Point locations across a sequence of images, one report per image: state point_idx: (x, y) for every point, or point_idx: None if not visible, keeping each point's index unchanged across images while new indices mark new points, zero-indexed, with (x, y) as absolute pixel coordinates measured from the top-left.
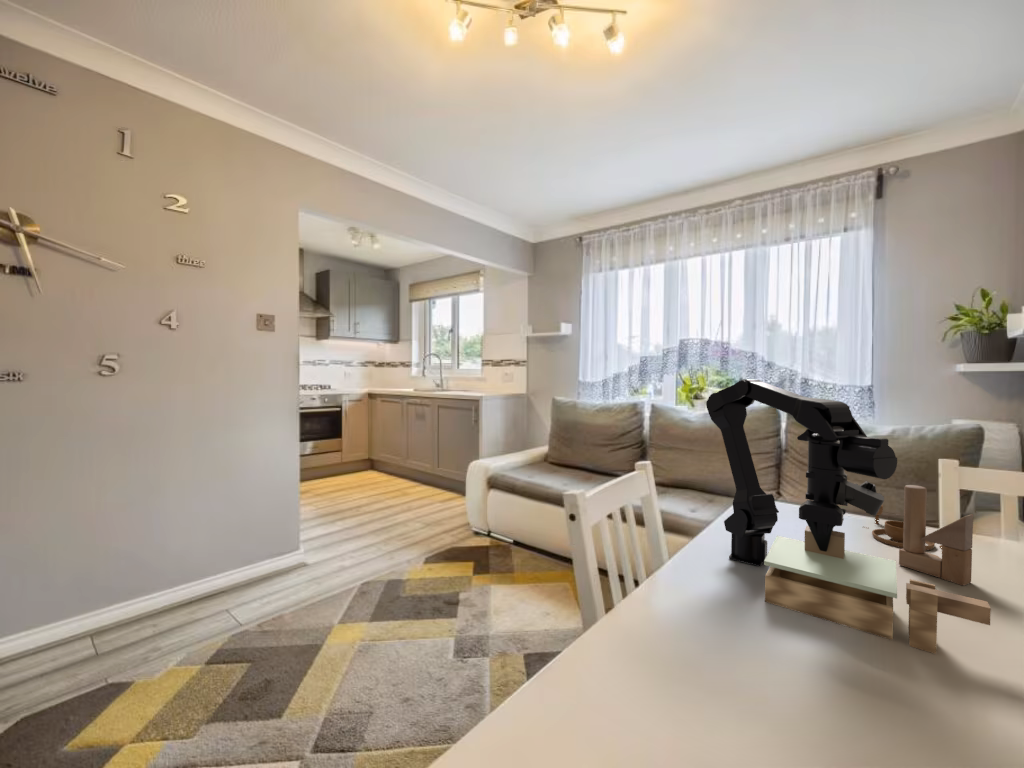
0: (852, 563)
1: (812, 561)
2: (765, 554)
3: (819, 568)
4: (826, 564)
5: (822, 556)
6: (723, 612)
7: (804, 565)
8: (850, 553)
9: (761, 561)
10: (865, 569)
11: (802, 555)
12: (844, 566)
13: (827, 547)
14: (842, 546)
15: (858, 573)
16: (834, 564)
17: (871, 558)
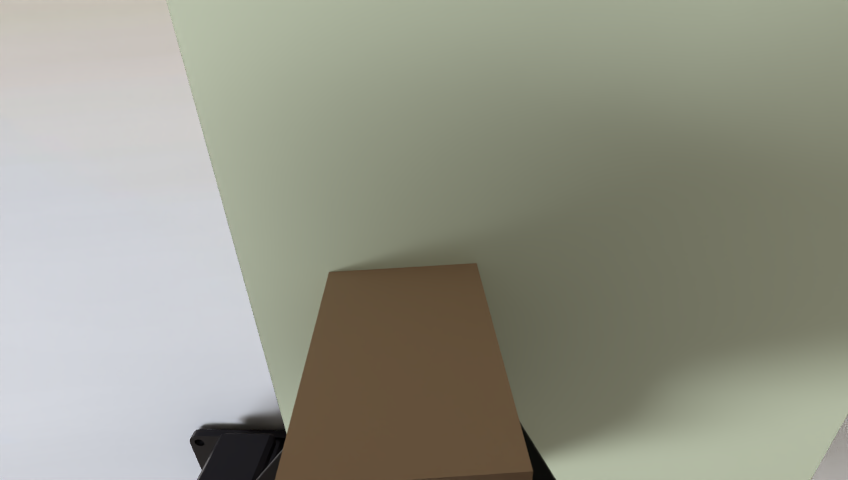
0: (544, 187)
1: (653, 416)
2: (246, 459)
3: (770, 369)
4: (669, 345)
5: (520, 385)
6: (829, 450)
7: (748, 438)
8: (296, 229)
9: (277, 441)
10: (635, 62)
11: (580, 472)
12: (651, 236)
13: (527, 438)
14: (500, 365)
15: (769, 115)
16: (646, 303)
17: (268, 26)
